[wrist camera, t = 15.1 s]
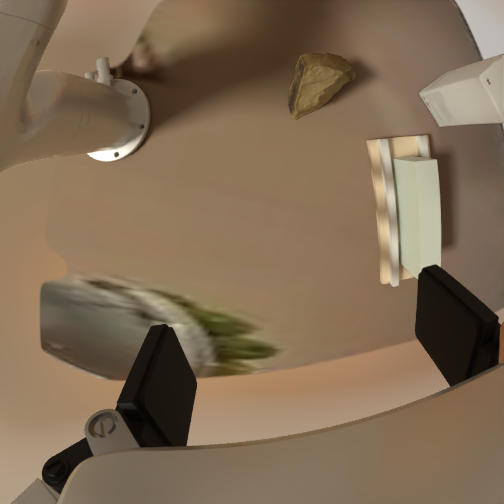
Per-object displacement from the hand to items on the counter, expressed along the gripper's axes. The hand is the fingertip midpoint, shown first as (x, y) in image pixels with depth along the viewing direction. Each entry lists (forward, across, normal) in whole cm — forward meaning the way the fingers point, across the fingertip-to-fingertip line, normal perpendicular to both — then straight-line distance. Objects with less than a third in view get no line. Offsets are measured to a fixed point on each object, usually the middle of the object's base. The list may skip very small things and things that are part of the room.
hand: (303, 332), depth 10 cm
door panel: (+31, -20, +7) cm, 38 cm away
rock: (+33, -11, -12) cm, 37 cm away
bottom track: (+32, -20, +7) cm, 38 cm away
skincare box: (+32, -31, -10) cm, 46 cm away
